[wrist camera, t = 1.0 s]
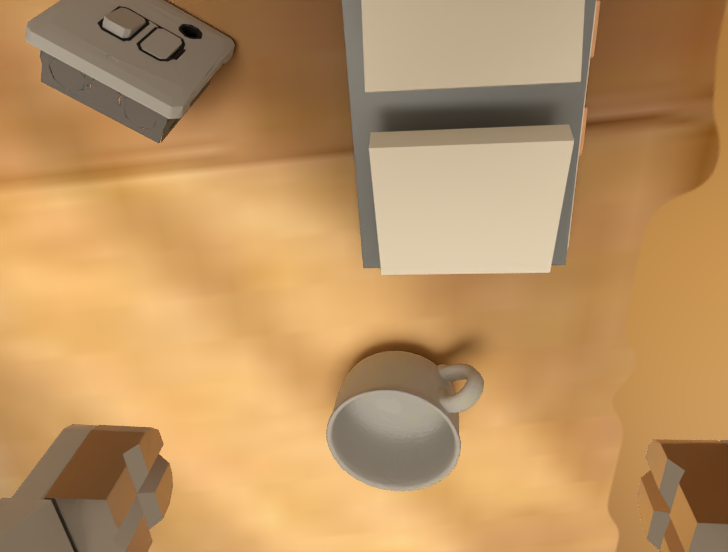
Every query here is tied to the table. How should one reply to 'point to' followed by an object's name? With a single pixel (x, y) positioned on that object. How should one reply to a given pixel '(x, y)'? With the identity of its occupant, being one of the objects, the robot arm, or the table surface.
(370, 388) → the teacup
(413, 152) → the block
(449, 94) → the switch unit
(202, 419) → the table surface
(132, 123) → the electrical switch
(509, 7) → the rocker
